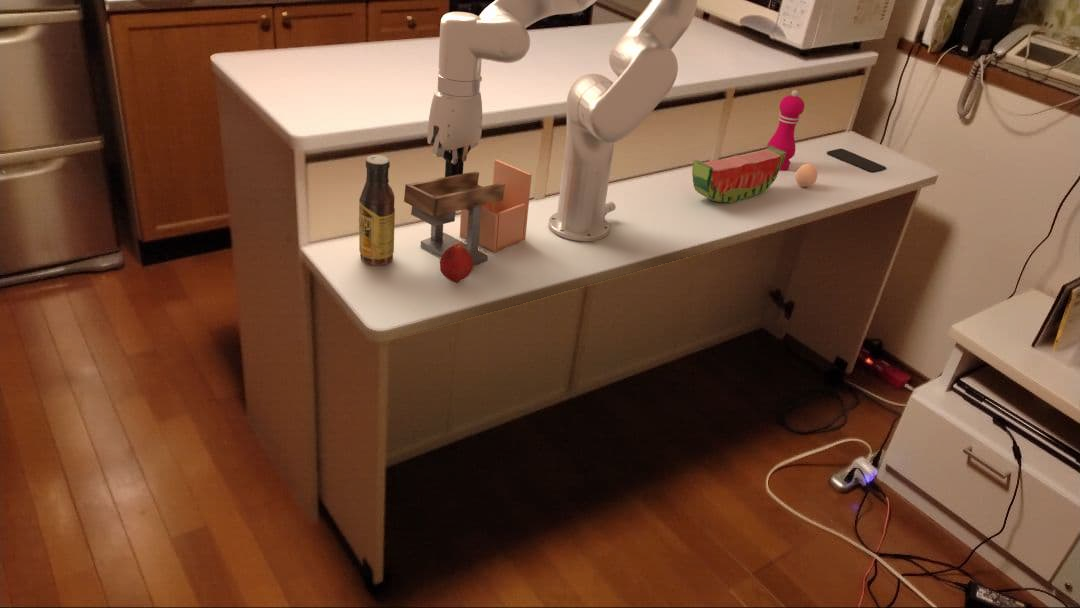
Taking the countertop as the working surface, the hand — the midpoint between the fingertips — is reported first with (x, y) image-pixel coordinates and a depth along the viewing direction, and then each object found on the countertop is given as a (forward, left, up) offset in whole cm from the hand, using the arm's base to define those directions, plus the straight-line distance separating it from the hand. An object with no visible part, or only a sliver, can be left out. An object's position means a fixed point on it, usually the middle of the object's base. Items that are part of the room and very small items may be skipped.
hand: (453, 180), depth 159 cm
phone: (-117, +35, -12) cm, 123 cm away
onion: (+12, +14, -12) cm, 22 cm away
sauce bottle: (+18, -1, -12) cm, 21 cm away
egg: (-87, +34, -12) cm, 94 cm away
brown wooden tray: (+6, +4, -3) cm, 8 cm away
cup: (-5, +6, -12) cm, 14 cm away
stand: (+5, +6, -12) cm, 14 cm away
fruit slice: (-66, +26, -12) cm, 72 cm away
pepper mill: (-94, +23, -12) cm, 97 cm away
